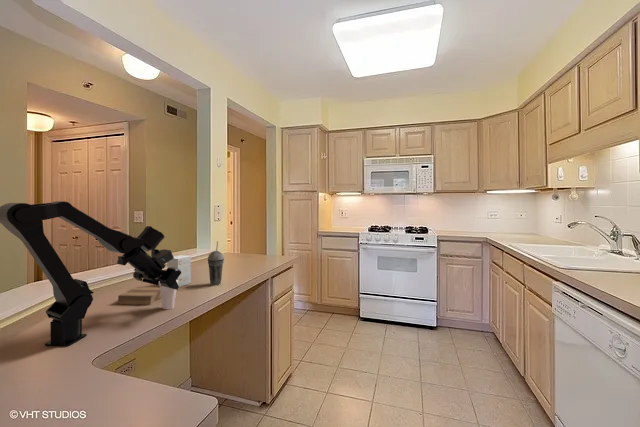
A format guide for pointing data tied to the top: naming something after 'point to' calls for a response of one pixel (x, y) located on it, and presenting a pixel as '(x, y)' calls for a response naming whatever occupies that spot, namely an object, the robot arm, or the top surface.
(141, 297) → the walnut plinth
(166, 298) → the smoothie
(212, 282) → the beverage cup
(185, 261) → the small box
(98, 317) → the top surface
